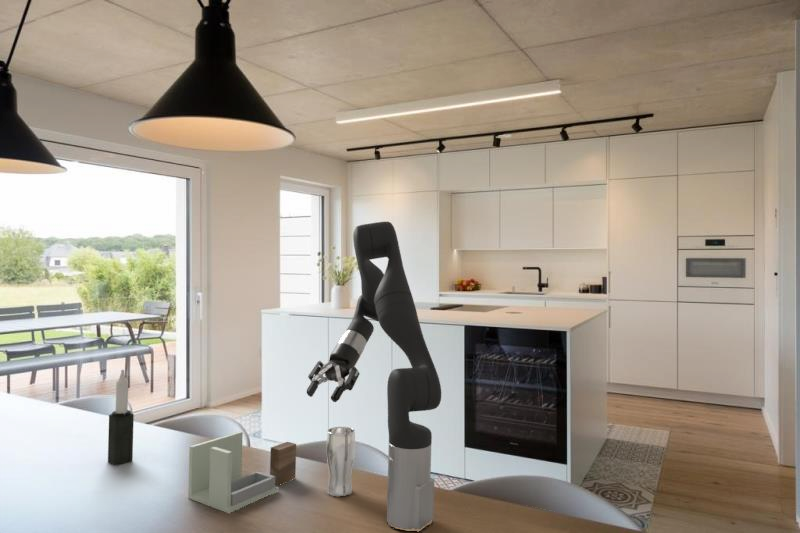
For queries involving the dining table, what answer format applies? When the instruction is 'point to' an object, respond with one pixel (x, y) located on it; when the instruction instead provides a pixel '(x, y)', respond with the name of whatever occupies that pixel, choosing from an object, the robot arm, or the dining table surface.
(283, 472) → the brown wooden block
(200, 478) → the sage green display stand
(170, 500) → the dining table surface
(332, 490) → the beer glass
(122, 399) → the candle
